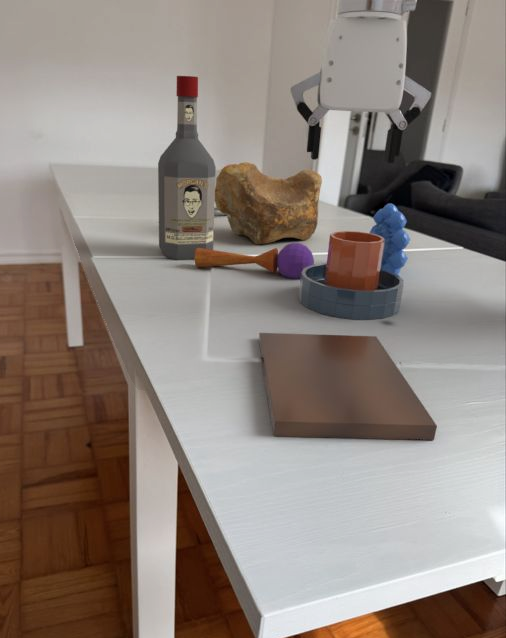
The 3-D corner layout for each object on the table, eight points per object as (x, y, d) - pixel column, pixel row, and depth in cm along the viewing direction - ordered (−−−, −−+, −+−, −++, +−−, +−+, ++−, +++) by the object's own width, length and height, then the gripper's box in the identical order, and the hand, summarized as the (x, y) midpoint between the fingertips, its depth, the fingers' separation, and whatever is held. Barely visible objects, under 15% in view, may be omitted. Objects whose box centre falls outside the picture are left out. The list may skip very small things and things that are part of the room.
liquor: (157, 248, 106) (155, 75, 94) (202, 247, 109) (206, 78, 97) (167, 261, 98) (166, 73, 86) (215, 258, 101) (221, 77, 89)
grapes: (347, 266, 100) (355, 198, 95) (381, 265, 101) (392, 199, 96) (374, 285, 90) (385, 210, 85) (412, 284, 91) (425, 211, 86)
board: (374, 347, 66) (376, 336, 65) (434, 440, 48) (437, 425, 47) (258, 344, 65) (259, 332, 65) (273, 436, 47) (274, 421, 47)
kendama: (204, 239, 97) (317, 243, 91) (203, 273, 98) (315, 279, 92) (191, 240, 91) (311, 243, 86) (191, 276, 93) (309, 282, 87)
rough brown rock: (217, 251, 109) (223, 174, 102) (210, 227, 124) (215, 158, 117) (330, 256, 113) (343, 181, 106) (310, 232, 127) (320, 165, 120)
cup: (366, 295, 83) (376, 232, 79) (379, 311, 76) (390, 243, 72) (319, 293, 83) (326, 230, 79) (328, 309, 76) (336, 241, 72)
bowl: (382, 292, 86) (387, 264, 84) (411, 325, 73) (417, 293, 72) (293, 289, 86) (295, 261, 84) (306, 322, 73) (309, 289, 71)
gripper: (435, 15, 68) (411, 161, 75) (295, 10, 68) (284, 155, 75) (454, 4, 61) (425, 166, 68) (298, -1, 62) (285, 159, 69)
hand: (351, 160), depth 72 cm, fingers open, 9 cm apart
